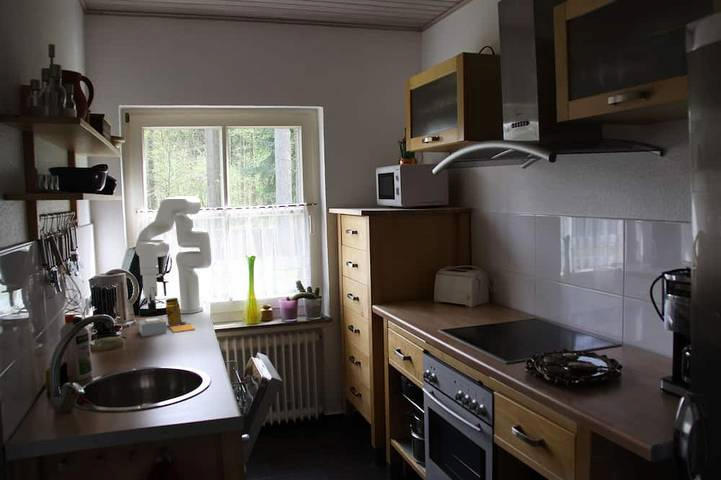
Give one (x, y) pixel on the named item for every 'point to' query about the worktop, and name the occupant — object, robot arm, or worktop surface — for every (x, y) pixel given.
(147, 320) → the button
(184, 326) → the lockout pad
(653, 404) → the worktop surface
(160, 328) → the box
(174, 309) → the condiment
